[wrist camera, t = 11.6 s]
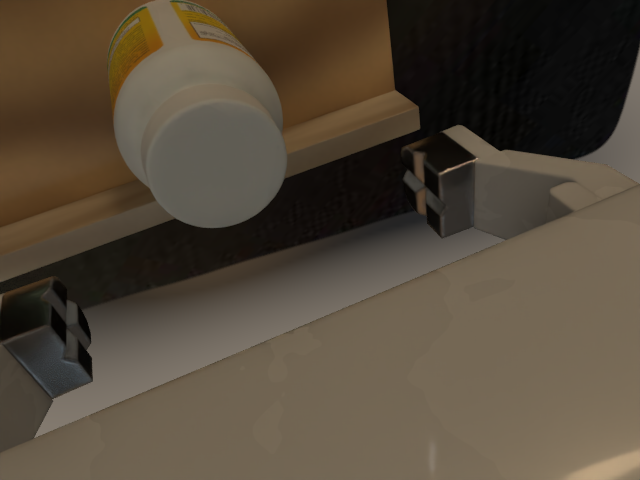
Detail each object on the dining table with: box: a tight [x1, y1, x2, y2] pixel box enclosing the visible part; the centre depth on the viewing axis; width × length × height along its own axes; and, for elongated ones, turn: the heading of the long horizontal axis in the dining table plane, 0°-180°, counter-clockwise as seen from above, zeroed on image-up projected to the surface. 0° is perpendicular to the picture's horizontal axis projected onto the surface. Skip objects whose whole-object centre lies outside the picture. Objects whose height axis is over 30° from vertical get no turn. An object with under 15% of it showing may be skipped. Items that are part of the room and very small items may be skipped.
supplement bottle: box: [107, 0, 287, 228], centre depth 18 cm, size 5×5×10 cm
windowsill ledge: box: [0, 0, 420, 282], centre depth 23 cm, size 10×22×8 cm, turn 101°
